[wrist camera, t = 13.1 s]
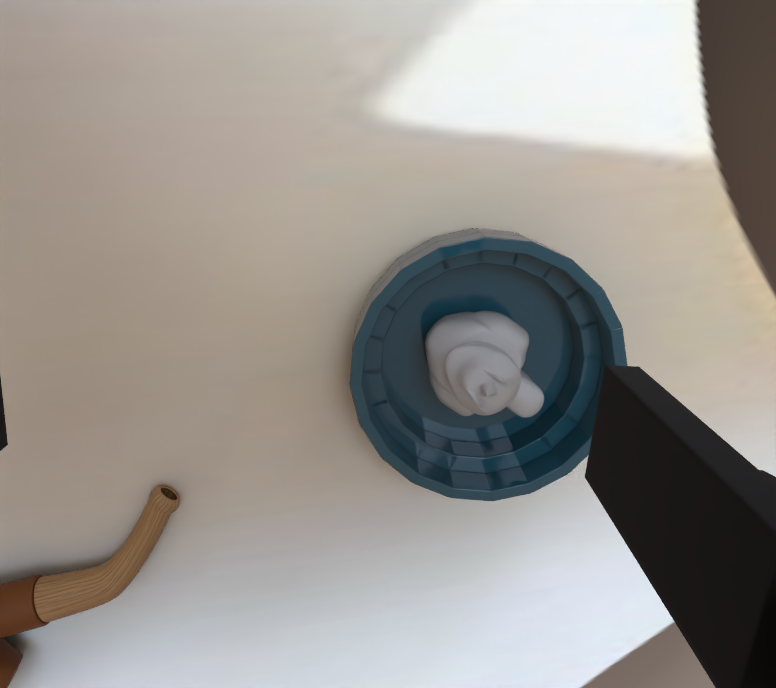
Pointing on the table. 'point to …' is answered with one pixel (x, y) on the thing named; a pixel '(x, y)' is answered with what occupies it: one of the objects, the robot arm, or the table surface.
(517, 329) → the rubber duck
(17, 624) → the pipe
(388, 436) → the bowl
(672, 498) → the robot arm
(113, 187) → the table surface
